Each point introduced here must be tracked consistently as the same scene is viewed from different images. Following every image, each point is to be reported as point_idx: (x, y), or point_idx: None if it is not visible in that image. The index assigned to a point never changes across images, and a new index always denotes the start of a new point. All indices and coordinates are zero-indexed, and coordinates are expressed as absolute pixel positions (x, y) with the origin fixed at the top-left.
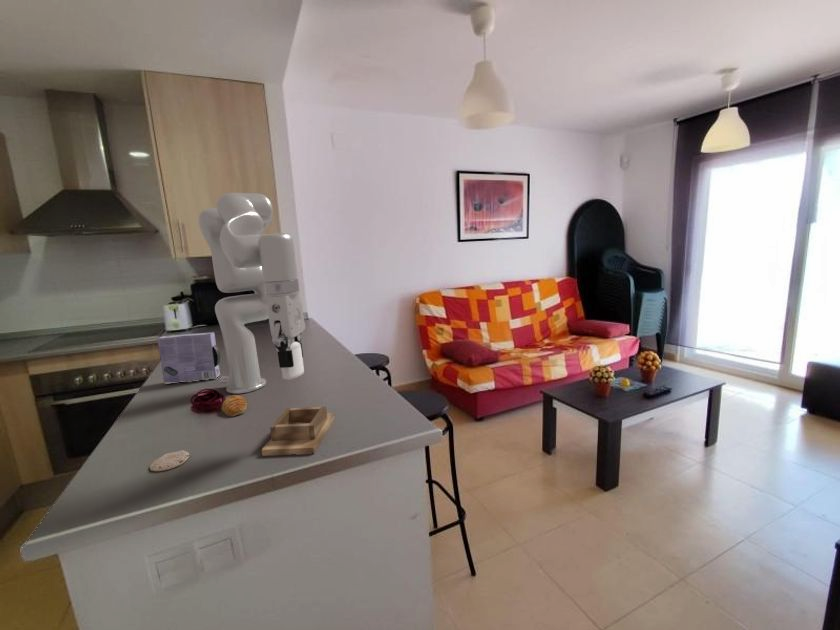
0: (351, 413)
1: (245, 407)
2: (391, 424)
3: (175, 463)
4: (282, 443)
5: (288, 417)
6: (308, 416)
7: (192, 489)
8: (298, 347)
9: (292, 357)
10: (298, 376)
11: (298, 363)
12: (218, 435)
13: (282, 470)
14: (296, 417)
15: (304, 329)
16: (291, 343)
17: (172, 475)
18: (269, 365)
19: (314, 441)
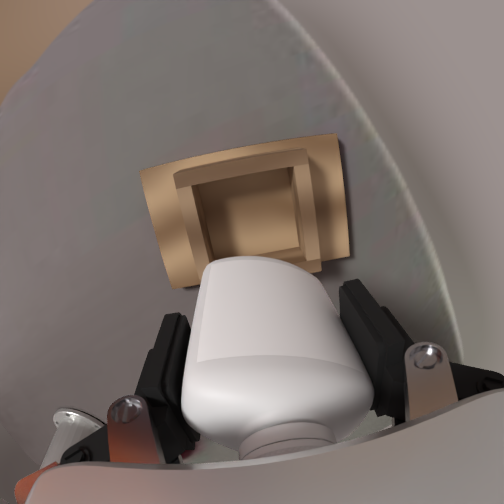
0: (114, 135)
1: None
2: (169, 6)
3: None
4: (323, 223)
5: None
6: (202, 219)
7: (428, 299)
8: (252, 357)
9: (371, 308)
10: (273, 258)
11: (271, 287)
12: None
13: (392, 176)
14: (211, 252)
15: (79, 464)
16: (318, 414)
17: None
18: (15, 423)
19: (308, 144)
